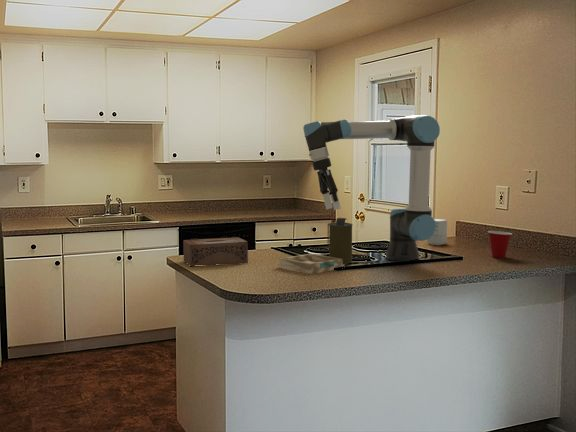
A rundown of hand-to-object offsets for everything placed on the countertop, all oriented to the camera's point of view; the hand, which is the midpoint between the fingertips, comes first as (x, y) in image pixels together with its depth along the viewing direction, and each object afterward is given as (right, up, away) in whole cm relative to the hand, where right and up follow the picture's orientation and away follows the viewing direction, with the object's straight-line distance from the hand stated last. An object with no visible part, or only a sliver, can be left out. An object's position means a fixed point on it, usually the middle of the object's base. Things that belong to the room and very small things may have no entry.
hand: (333, 209), depth 290 cm
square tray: (-9, -25, +8) cm, 28 cm away
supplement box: (+59, -18, +76) cm, 98 cm away
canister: (+4, -24, +20) cm, 32 cm away
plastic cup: (+79, -22, +35) cm, 89 cm away
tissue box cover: (-51, -24, +22) cm, 61 cm away
